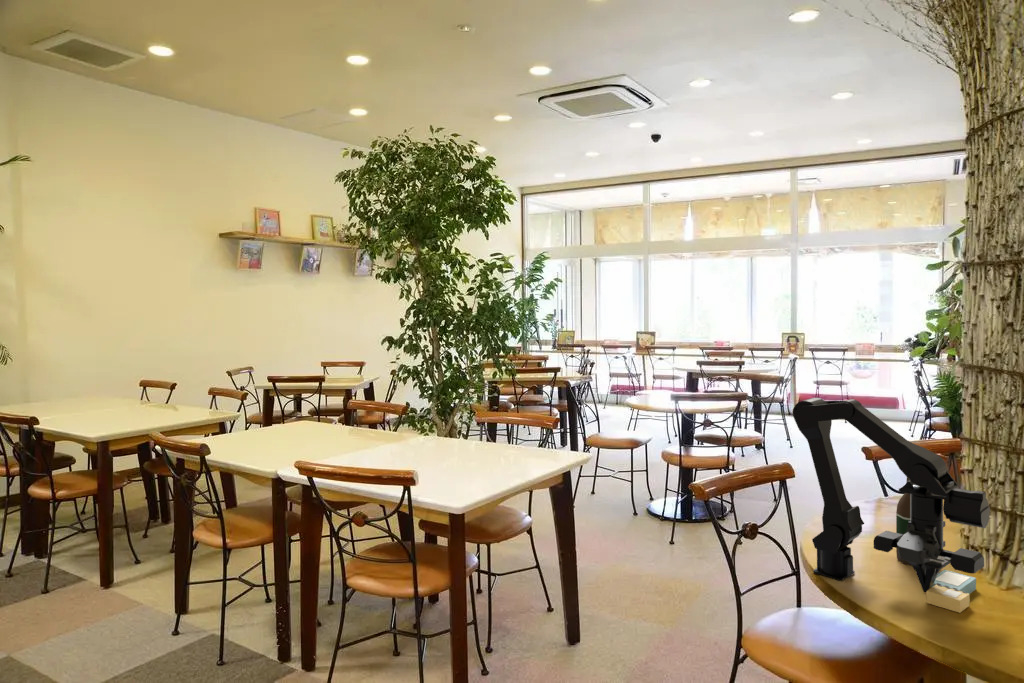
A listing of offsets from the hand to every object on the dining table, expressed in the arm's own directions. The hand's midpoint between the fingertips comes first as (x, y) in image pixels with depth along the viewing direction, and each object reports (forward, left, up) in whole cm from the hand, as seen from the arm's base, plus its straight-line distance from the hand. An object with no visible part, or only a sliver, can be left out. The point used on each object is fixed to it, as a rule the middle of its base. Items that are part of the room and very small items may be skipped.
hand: (926, 592), depth 141 cm
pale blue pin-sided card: (+2, +7, -1) cm, 8 cm away
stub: (+4, 0, -1) cm, 4 cm away
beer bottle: (-10, +19, -2) cm, 21 cm away
